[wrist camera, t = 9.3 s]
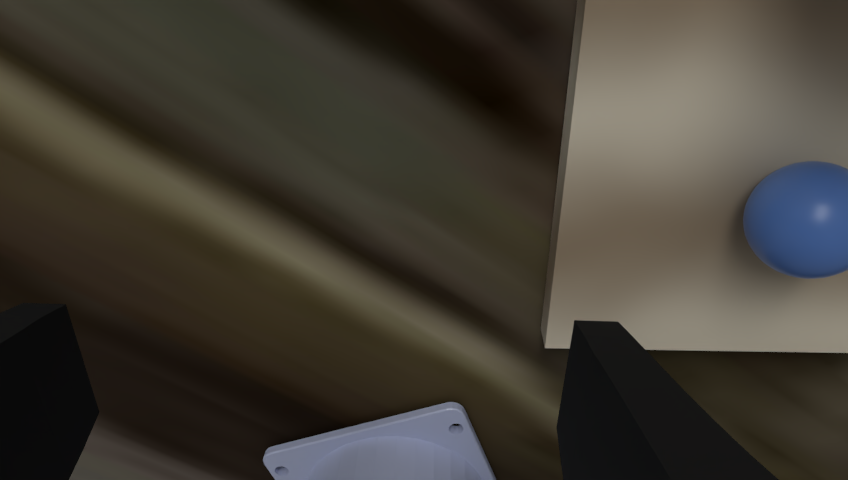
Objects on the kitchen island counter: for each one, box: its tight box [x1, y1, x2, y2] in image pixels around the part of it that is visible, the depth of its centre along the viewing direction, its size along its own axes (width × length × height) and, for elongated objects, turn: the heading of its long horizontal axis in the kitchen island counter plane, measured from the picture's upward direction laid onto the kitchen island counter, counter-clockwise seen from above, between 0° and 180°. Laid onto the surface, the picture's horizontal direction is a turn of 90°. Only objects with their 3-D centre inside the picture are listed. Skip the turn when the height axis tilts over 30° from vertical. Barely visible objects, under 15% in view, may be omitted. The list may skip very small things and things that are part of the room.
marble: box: [743, 161, 848, 279], centre depth 16 cm, size 3×3×3 cm
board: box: [541, 0, 848, 353], centre depth 16 cm, size 20×12×1 cm, turn 0°
